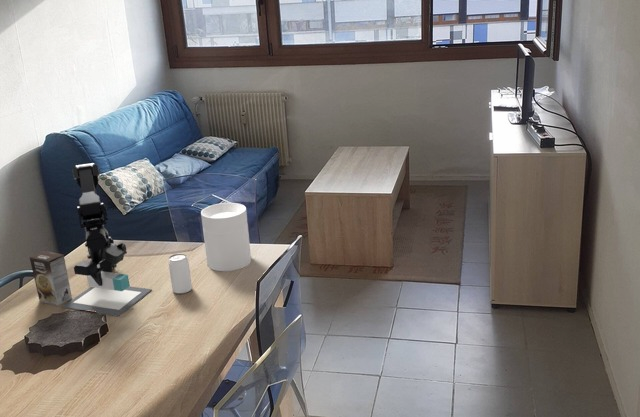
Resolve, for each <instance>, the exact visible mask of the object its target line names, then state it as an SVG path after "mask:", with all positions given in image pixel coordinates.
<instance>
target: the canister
mask: <svg viewBox="0 0 640 417" xmlns="http://www.w3.org/2000/svg"><path fill="white" fill-rule="evenodd" d="M247 214H248V213H247V207H246V206H245V205H244V204H241V203H237V202H223V203H222V202H221V203H216V204H212V205H209V206H207V207H204V208H203V209H202V210H201V211H200V216H201V226H202V233H203V239H204V248H205V255H206V256H205V257H206V264H207V267H208V268H209V269H210V270H213V271H216V272H231V271H232V272H233V271H238V270H240V269H243V268H245V267H247V266H249V264H250V263H251V262H252V253H251V244H250V235H249V224H248V215H247Z"/></svg>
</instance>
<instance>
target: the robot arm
mask: <svg viewBox="0 0 640 417" xmlns="http://www.w3.org/2000/svg"><path fill="white" fill-rule="evenodd" d="M100 175H101V174H100V169H99V165H98V164H95V163H94V162H92V163H83V164H78V165H77V164H76V165H75V167H73V168H72V176H73V179H74V180H76V183H77V187H79V188H80V189H81V197H79V199H78V202H79V203H78V204H79V206H77V213H78V219H79V224H80V226H79V227H80V229H84V231H85V243H84V245H85V246H84V247H86V248H87V252H88V254H87V259H89V260H90V261H86V260H82V261H80V262H78V263H77V264H75V265H74V267H73V270H74V275H81V276H85V277H87V276H89V275H90V276H91V277H92V278H93V279H94V280H95V282H96V283H97V284H98V285H99V286H102V276H101V271H103V272H111V273H113V269H114V267H117V265H118V264H119V263H120V262H123V260H124V257H125V256H124V255H126V254H127V253H128V252H127V246H126V244H125V243H124V242H120V243H115V241H114V239H113V238H112V236H109V232H108V230H107V229H106V228H105V226H104V225H107V221H108V220H109V219H108V213H107V212H108V211H107V207H106V205H105V203H104V202H101V198H100V196H99V195H98V194H97V190H96V189H97V186H98V184H99V182H100V181H99V177H98V176H100Z"/></svg>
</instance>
